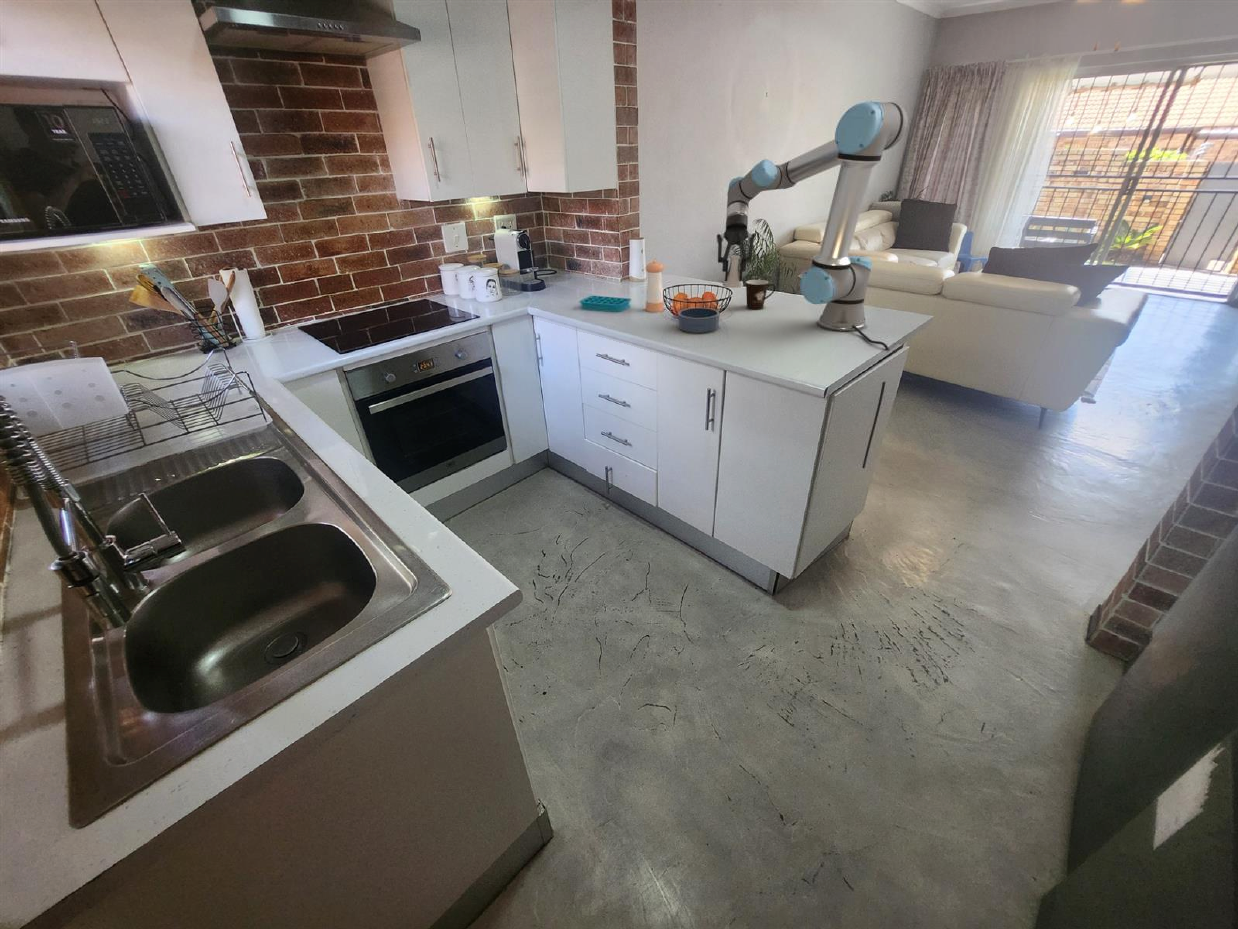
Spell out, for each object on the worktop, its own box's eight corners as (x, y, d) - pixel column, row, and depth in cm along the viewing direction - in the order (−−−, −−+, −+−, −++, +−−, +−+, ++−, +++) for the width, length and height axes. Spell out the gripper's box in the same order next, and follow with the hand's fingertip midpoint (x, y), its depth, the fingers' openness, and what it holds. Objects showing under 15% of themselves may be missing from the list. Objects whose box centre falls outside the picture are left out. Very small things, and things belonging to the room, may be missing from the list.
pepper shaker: (656, 306, 213) (656, 258, 203) (667, 309, 208) (667, 260, 198) (642, 309, 210) (641, 260, 200) (652, 313, 205) (652, 263, 195)
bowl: (725, 330, 181) (726, 314, 178) (689, 336, 177) (689, 320, 174) (706, 320, 193) (707, 305, 190) (671, 325, 189) (671, 310, 186)
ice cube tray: (592, 302, 224) (591, 295, 223) (632, 305, 216) (632, 298, 214) (578, 308, 216) (577, 301, 214) (619, 312, 207) (619, 305, 206)
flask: (743, 288, 175) (745, 257, 169) (722, 288, 176) (723, 258, 171) (743, 283, 181) (745, 253, 175) (722, 283, 182) (724, 254, 177)
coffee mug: (743, 310, 202) (745, 284, 197) (744, 304, 209) (746, 279, 204) (773, 310, 200) (776, 284, 194) (773, 305, 207) (776, 279, 201)
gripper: (760, 226, 181) (758, 285, 176) (712, 228, 184) (708, 285, 179) (763, 212, 173) (760, 272, 168) (712, 213, 177) (708, 272, 172)
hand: (733, 278), depth 174 cm, fingers closed on flask, 4 cm apart
